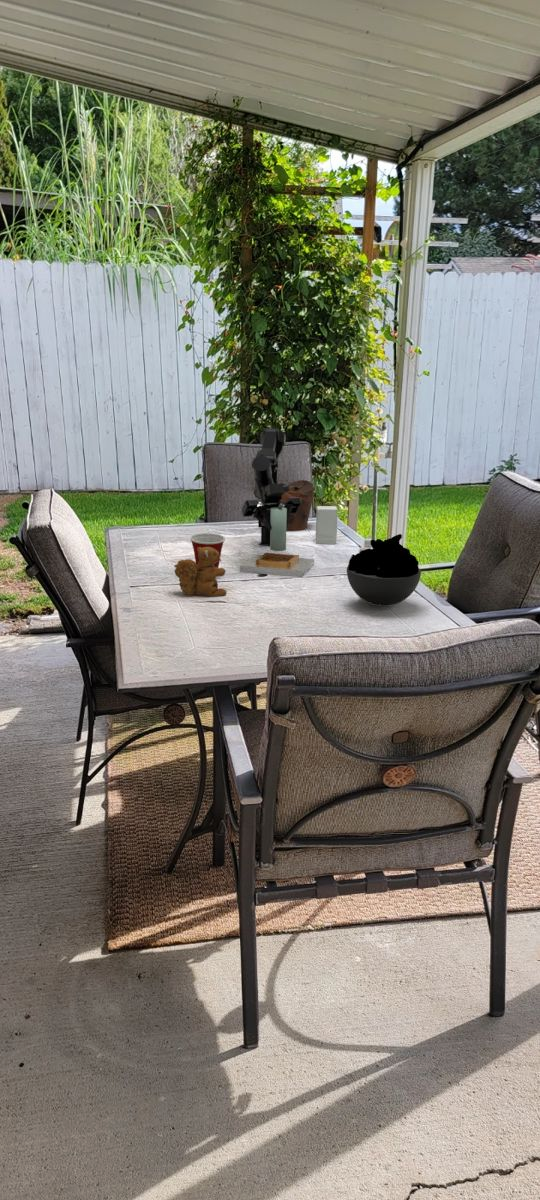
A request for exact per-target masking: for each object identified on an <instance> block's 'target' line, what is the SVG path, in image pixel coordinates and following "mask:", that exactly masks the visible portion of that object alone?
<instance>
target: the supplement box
mask: <svg viewBox="0 0 540 1200" xmlns="http://www.w3.org/2000/svg"><path fill="white" fill-rule="evenodd" d="M338 511H339V510H338V507H337V505H334V506H332V505H331V506H329V505H326V506H325V505H317V506H316V513H315V516H316V517H315V518H316V520H315V543H316V544H318V545H337V538H338V537H337V536H338V535H337V534H338Z"/></svg>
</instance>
